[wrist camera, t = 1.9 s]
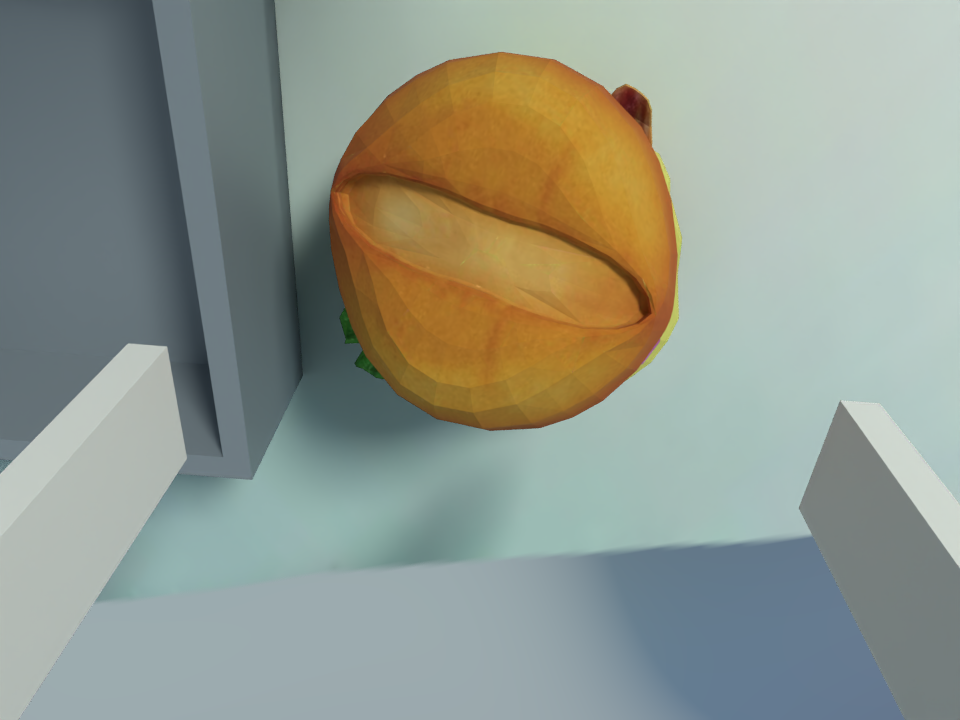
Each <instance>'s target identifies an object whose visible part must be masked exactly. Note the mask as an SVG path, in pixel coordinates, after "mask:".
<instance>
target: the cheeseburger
mask: <svg viewBox="0 0 960 720" xmlns="http://www.w3.org/2000/svg"><path fill="white" fill-rule="evenodd" d="M651 124H652V109H651V106H650V103H649V100H648V99H647V98H646V97H645V96H644V95H643V94H642V93H641V92H640V91H638V90H637V89H636V88H634V87H632V86H630V85H628V84H625V85H623V86H621V87H619V88H617V89H616V90H615V91H614V92H613V93H612V95H611V94H610V93H609V92H608V91H607V90H606V89H605V88H604V87H603V86H602V85H600V84H598V83H596V82H594V81H593V80H591V79H589V78H587V77H585V76H584V75H582V74H580V73H578V72H576V71H575V70H573V69H571V68H569V67H567V66H566V65H564V64H562V63H560V62H558V61H557V60H553V59H547V58H540V57H533V56H526V55H519V54H513V53H506V52H498V53H492V54H485V55H479V56H472V57H466V58H459V59H453V60H448V61H446V62H444V63H442V64H440V65H437V66H435V67H433V68H431V69H429V70H427V71H424V72H422V73H420V74H418V75H416V76H415V77H413V78H412V79H411V80H409V81H408V82H406V83H405V84H404V85H402V86H401V87H399V88H398V89H397V90H395V91H394V92H392V93H391V94H390V95H388V96H387V97H386V99H385V100H384V101H383V102H382V103H381V105H380V106H379V107H378V108H377V109H376V110H375V112H374V113H373V114H372V115H371V116H370V118H369V119H368V120H367V121H366V122H365V123H364V124H363V125H362V126H361V127H360V128H359V129H358V131H357V132H356V133H355V135H354V136H353V138H352V140H351V142H350V144H349V146H348V147H347V149H346V151H345V153H344V155H343V156H342V158H341V160H340V163H339V165H338V168H337V170H336V173H335V176H334V180H333V184H332V188H331V194H330V203H329V225H330V239H331V251H332V255H333V260H334V265H335V270H336V275H337V280H338V285H339V290H340V293H341V296H342V299H343V302H344V305H345V308H344V310H343V312H342V314H341V316H340V321H341V324H342V328H343V331H344V334H345V338H346V340H345V344H349V343H360V345H361V347H362V349H363V351H362V352H361V354H360V355H359V357H358V359H357V360H356V362H355V365H356V367H359V368H362V369H364V370H365V371H367V372H368V373H370V374H371V375H373V376H374V377H376V378H380V379H385V380H386V381H387V383H388V384H389V385H390V386H391V388H392V389H393V390H394V391H395V392H396V394H397V395H399V396H400V397H402V398H404V399H405V400H407V401H409V402H410V403H412V404H413V405H415V406H417V407H418V408H420V409H421V410H423V411H425V412H426V413H428V414H430V415H431V416H433V417H434V418H436V419H439V420H444V421H449V422H453V423H458V424H462V425H467V426H471V427H476V428H480V429H485V430H490V431H494V430H512V429H531V428H542V427H545V426H548V425H551V424H554V423H557V422H560V421H563V420H566V419H569V418H572V417H574V416H576V415H578V414H580V413H581V412H583V411H585V410H587V409H589V408H591V407H592V406H594V405H596V404H598V403H600V402H601V401H603V400H604V399H605V398H606V397H607V396H609V395H610V394H611V393H612V392H613V391H614V390H615V389H616V388H618V387H619V386H620V385H621V384H622V383H623V382H624V381H626V380H627V379H629V378H630V377H632V376H633V375H635V374H636V373H637V372H638V371H640V370H641V369H643V368H644V367H645V366H647V365H648V364H650V363H651V362H652V360H653V359H654V358H655V356H656V355H657V354H658V353H659V351H660V350H661V349H662V347H663V346H664V345H665V343H666V342H667V341H668V339H669V337H670V335H671V333H672V331H673V329H674V327H675V325H676V323H677V321H678V319H679V309H678V266H679V259H680V252H681V244H682V236H681V232H680V228H679V225H678V221H677V217H676V214H675V210H674V207H673V203H672V200H671V196H670V178H669V175H668V173H667V171H666V168H665V166H664V164H663V162H662V159H661V157H660V155H659V154H658V153H657V152H655V151H654V150H653V148H652V127H651Z"/></svg>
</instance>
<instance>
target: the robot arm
mask: <svg viewBox="0 0 960 720" xmlns="http://www.w3.org/2000/svg"><path fill="white" fill-rule="evenodd" d="M186 459H187V455H186V450H185V444H184V439H183V433H182V427H181V422H180V416H179V410H178V405H177V399H176V394H175V388H174V382H173V377H172V371H171V365H170V360H169V354H168V349H167V346H154V345H142V344H129V343H128V344H127V345H126V346H125V347H124V348H123V349H122V350H121V351H120V352H119V353H118V354H117V355H116V356H115V357H114V358H113V359H112V360H111V361H110V362H109V363H108V364H107V365H106V366H105V367H104V368H103V369H102V371H101V372H100V373H99V374H98V375H97V376H96V377H95V378H94V379H93V380H92V381H91V382H90V383H89V384H88V385H87V386H86V387H85V388H84V389H83V390H82V391H81V392H80V393H79V394H78V395H77V396H76V397H75V398H74V399H73V400H72V401H71V402H70V403H69V404H68V405H67V406H66V407H65V408H64V409H63V410H62V411H61V412H60V413H59V414H58V415H57V416H56V417H55V418H54V420H53V421H52V422H51V423H50V424H49V425H48V426H47V427H46V428H45V429H44V430H43V431H42V432H41V433H40V434H39V435H38V436H37V437H36V438H35V439H34V440H33V441H32V442H31V443H30V444H29V445H28V446H27V447H26V448H25V449H24V450H23V451H22V452H21V453H20V454H19V455H18V456H17V457H16V458H15V459H14V460H13V461H12V462H11V463H10V464H9V465H8V466H7V467H6V469H5V470H4V471H3V472H2V473H1V474H0V720H19V719H20V717H21V715H22V714H23V712H24V711H25V709H26V708H27V706H28V705H29V703H30V702H31V700H32V698H33V697H34V695H35V694H36V692H37V691H38V689H39V687H40V686H41V684H42V683H43V681H44V679H45V678H46V676H47V675H48V674H49V672H50V671H51V669H52V667H53V666H54V664H55V662H56V661H57V660H58V658H59V656H60V655H61V653H62V652H63V650H64V649H65V647H66V646H67V644H68V643H69V641H70V639H71V638H72V636H73V635H74V633H75V632H76V630H77V628H78V627H79V625H80V624H81V622H82V620H83V619H84V618H85V616H86V615H87V613H88V611H89V610H90V608H91V607H92V605H93V604H94V602H95V601H96V599H97V598H98V596H99V594H100V593H101V591H102V590H103V588H104V587H105V585H106V584H107V582H108V580H109V579H110V577H111V576H112V574H113V573H114V571H115V570H116V568H117V567H118V565H119V563H120V562H121V560H122V559H123V557H124V556H125V554H126V553H127V551H128V549H129V548H130V546H131V545H132V543H133V542H134V540H135V539H136V537H137V535H138V534H139V532H140V531H141V529H142V528H143V526H144V525H145V523H146V521H147V520H148V518H149V517H150V515H151V514H152V512H153V511H154V509H155V508H156V506H157V504H158V503H159V501H160V500H161V498H162V497H163V495H164V494H165V492H166V490H167V489H168V487H169V486H170V484H171V483H172V481H173V480H174V478H175V476H176V475H177V473H178V472H179V470H180V469H181V467H182V466H183V464H184V463H185V461H186ZM799 509H800V511H801V513H802V515H803V517H804V519H805V521H806V523H807V525H808V527H809V529H810V531H811V533H812V535H813V537H814V539H815V541H816V543H817V545H818V547H819V549H820V551H821V553H822V555H823V557H824V559H825V561H826V563H827V565H828V567H829V569H830V571H831V573H832V575H833V577H834V579H835V581H836V583H837V585H838V587H839V589H840V591H841V593H842V595H843V597H844V599H845V601H846V603H847V605H848V607H849V609H850V611H851V613H852V615H853V617H854V619H855V621H856V623H857V625H858V627H859V629H860V631H861V633H862V635H863V637H864V639H865V641H866V643H867V645H868V647H869V649H870V651H871V653H872V655H873V657H874V659H875V661H876V663H877V665H878V667H879V669H880V671H881V673H882V675H883V677H884V679H885V681H886V682H887V685H888V686H889V689H890V691H891V692H892V695H893V697H894V699H895V701H896V703H897V705H898V707H899V709H900V711H901V713H902V715H903V716H904V718H905V720H960V504H959V503H958V502H957V500H956V499H955V498H954V496H953V495H952V494H951V493H950V491H949V490H948V489H947V488H946V486H945V485H944V484H943V483H942V481H941V480H940V479H939V478H938V476H937V475H936V474H935V473H934V471H933V470H932V469H931V468H930V466H929V465H928V464H927V462H926V461H925V460H924V459H923V457H922V456H921V455H920V454H919V452H918V451H917V450H916V449H915V447H914V446H913V445H912V444H911V442H910V441H909V440H908V439H907V437H906V436H905V435H904V434H903V432H902V431H901V430H900V428H899V427H898V426H897V425H896V423H895V422H894V421H893V420H892V418H891V417H890V416H889V415H888V413H887V412H886V411H885V410H884V408H883V407H882V406H881V405H880V404H879V403H867V402H854V401H842V400H840V402H839V405H838V407H837V410H836V413H835V415H834V418H833V420H832V423H831V426H830V428H829V431H828V433H827V436H826V439H825V441H824V444H823V446H822V449H821V452H820V454H819V457H818V459H817V462H816V465H815V467H814V470H813V472H812V475H811V478H810V480H809V483H808V485H807V488H806V491H805V493H804V496H803V498H802V501H801V504H800V506H799Z"/></svg>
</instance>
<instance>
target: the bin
mask: <svg viewBox="0 0 960 720" xmlns="http://www.w3.org/2000/svg"><path fill="white" fill-rule="evenodd" d="M128 343H129V344H142V345H154V346H167V349H168V354H169V360H170V365H171V371H172V377H173V382H174V388H175V394H176V399H177V405H178V410H179V416H180V422H181V427H182V433H183V439H184V444H185V450H186V455H187V459H186V461H185V463H184V464H183V466H182V467H181V469H180V470H179V472H178V473H177V474H187V475H199V476H212V477H224V478H236V479H249V480H252V479H253V477H254V475H255V473H256V471H257V469H258V467H259V465H260V462H261V460H262V458H263V456H264V454H265V452H266V450H267V448H268V446H269V444H270V442H271V440H272V438H273V436H274V434H275V431H276V429H277V427H278V425H279V423H280V421H281V419H282V417H283V415H284V413H285V411H286V409H287V407H288V405H289V403H290V401H291V398H292V396H293V394H294V392H295V390H296V388H297V386H298V384H299V382H300V380H301V378H302V376H303V374H302V361H301V348H300V334H299V321H298V308H297V295H296V282H295V268H294V255H293V242H292V229H291V215H290V202H289V189H288V176H287V162H286V149H285V136H284V123H283V109H282V96H281V83H280V70H279V57H278V43H277V30H276V17H275V4H274V0H0V459H2V460H14V459H15V458H16V457H17V456H18V455H19V454H20V453H21V452H22V451H23V450H24V449H25V448H26V447H27V446H28V445H29V444H30V443H31V442H32V441H33V440H34V439H35V438H36V437H37V436H38V435H39V434H40V433H41V432H42V431H43V430H44V429H45V428H46V427H47V426H48V425H49V424H50V423H51V422H52V421H53V420H54V418H55V417H56V416H57V415H58V414H59V413H60V412H61V411H62V410H63V409H64V408H65V407H66V406H67V405H68V404H69V403H70V402H71V401H72V400H73V399H74V398H75V397H76V396H77V395H78V394H79V393H80V392H81V391H82V390H83V389H84V388H85V387H86V386H87V385H88V384H89V383H90V382H91V381H92V380H93V379H94V378H95V377H96V376H97V375H98V374H99V373H100V372H101V371H102V369H103V368H104V367H105V366H106V365H107V364H108V363H109V362H110V361H111V360H112V359H113V358H114V357H115V356H116V355H117V354H118V353H119V352H120V351H121V350H122V349H123V348H124V347H125V346H126V345H127V344H128Z"/></svg>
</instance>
